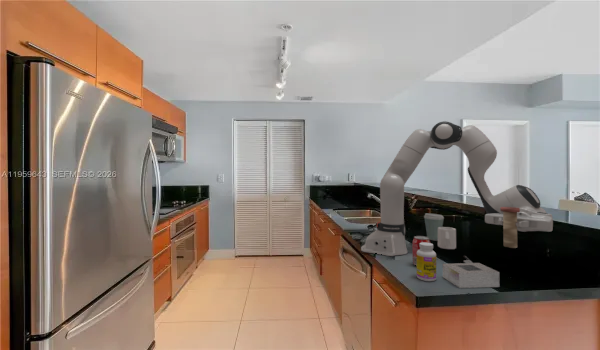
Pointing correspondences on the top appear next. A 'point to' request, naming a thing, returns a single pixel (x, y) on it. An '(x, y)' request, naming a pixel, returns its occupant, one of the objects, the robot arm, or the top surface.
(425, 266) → the supplement bottle
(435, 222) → the disposable coffee cup
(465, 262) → the chef's knife
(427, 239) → the soda can
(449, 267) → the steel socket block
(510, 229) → the wooden pin
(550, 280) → the top surface
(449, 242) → the mug
